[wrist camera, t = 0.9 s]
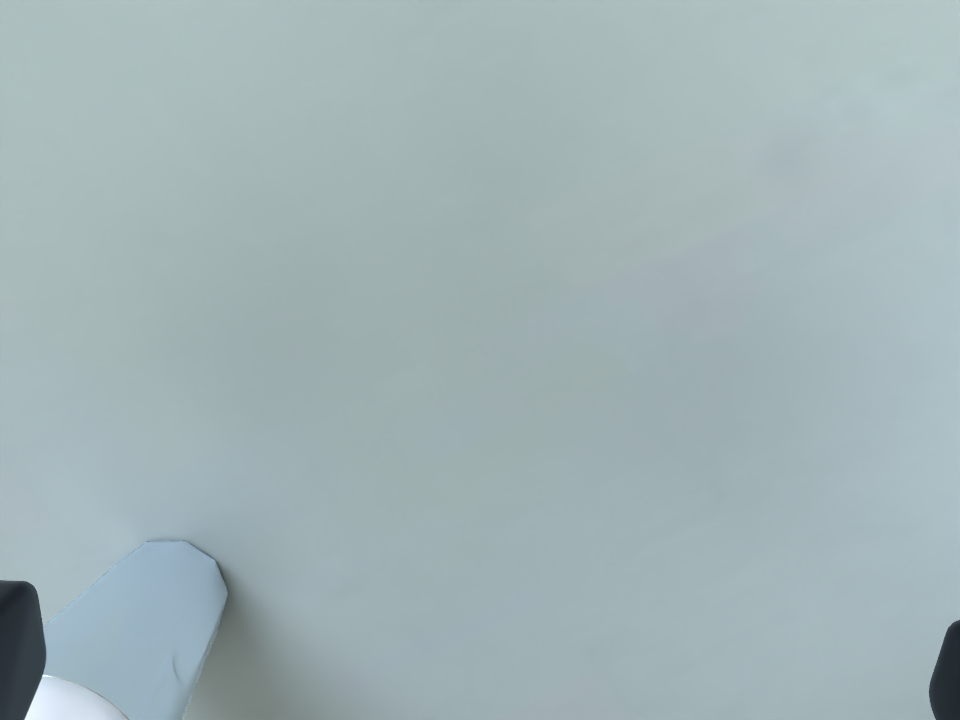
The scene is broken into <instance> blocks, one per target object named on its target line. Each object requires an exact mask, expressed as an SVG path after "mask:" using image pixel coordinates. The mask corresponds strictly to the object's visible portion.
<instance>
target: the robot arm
mask: <svg viewBox="0 0 960 720" xmlns="http://www.w3.org/2000/svg"><path fill="white" fill-rule="evenodd" d="M45 664H46V644H45V637H44V631H43V624H42V618H41V611H40V605H39V598H38V594H37V591H36V589H35V587H34V586H33V585H32V584H30V583H28V582H25V581H4V580H0V720H25V718H26V715H27V713H28V710H29V708H30V706H31V703H32V701H33V698H34V696H35V693H36V691H37V689H38V686H39V684H40V681H41V679H42V676H43V673H44V669H45ZM929 697H930V703H931V708H932V711H933V714H934V716H935V718H936V720H960V620H958V621H956V622H954V623H952V624H951V626H950V627H949V628H948V630H947V632H946V635H945V638H944V641H943V644H942V647H941V650H940V654H939V657H938V660H937V663H936V666H935V669H934V672H933V675H932V678H931V681H930V688H929Z"/></svg>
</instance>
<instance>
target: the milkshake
mask: <svg viewBox="0 0 960 720" xmlns="http://www.w3.org/2000/svg"><path fill="white" fill-rule="evenodd" d="M227 596H228V589H227V587H226V585H225V583H224V580H223V578H222V575H221V573H220V571H219V568H218V566H217V564H216V561H215V560H214V559H213V558H211V557H209V556H208V555H206V554H205V553H203V552H201V551H200V550H198V549H197V548H195V547H193V546H192V545H190V544H189V543H187V542H186V541H147V542H145V543H144V544H142V545H141V546H140V547H138V548H137V549H136V550H134V551H133V552H132V553H130V554H129V555H128V556H126V557H125V558H123V559H122V560H121V561H119V562H118V563H117V564H115V565H114V566H113V567H112V568H111V569H109V570H108V571H107V572H106V573H105V574H104V575H102V576H101V577H100V578H99V579H98V580H97V581H96V582H94V583H93V584H92V585H91V586H90V587H89V588H87V589H86V590H85V591H84V592H83V593H82V594H80V595H79V596H78V597H77V598H76V599H75V600H73V601H72V602H71V603H70V604H69V605H68V606H66V607H65V608H64V609H63V610H62V611H61V612H59V613H58V614H57V615H56V616H55V617H54V618H52V619H51V620H50V621H49V622H48V623H47V624H45V625H44V626H43V631H44V637H45V644H46V664H45V669H44V673H43V676H42V679H41V681H40V684H39V686H38V689H37V691H36V693H35V696H34V698H33V701H32V703H31V706H30V708H29V710H28V713H27V715H26V718H25V720H182V719H183V717H184V714H185V712H186V709H187V706H188V704H189V701H190V699H191V696H192V694H193V691H194V689H195V686H196V684H197V681H198V679H199V676H200V673H201V671H202V668H203V666H204V663H205V661H206V658H207V656H208V653H209V651H210V648H211V646H212V643H213V640H214V638H215V635H216V633H217V630H218V628H219V624H220V621H221V617H222V614H223V610H224V607H225V603H226V600H227Z"/></svg>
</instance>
